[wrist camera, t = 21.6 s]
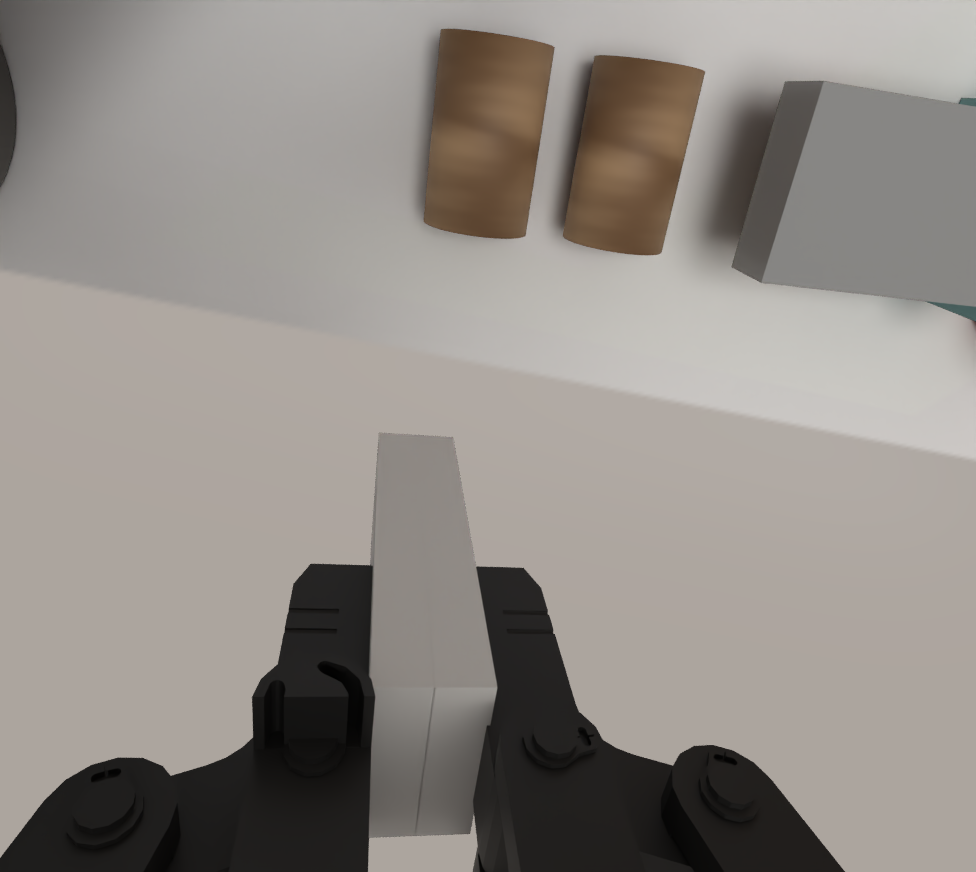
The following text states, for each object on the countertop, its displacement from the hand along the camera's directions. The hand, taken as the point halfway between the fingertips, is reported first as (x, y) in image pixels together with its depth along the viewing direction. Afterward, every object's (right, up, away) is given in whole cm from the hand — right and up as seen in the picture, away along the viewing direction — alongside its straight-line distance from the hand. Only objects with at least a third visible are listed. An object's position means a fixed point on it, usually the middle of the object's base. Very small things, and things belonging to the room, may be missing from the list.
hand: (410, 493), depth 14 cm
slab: (+20, +12, +18) cm, 30 cm away
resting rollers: (+5, +16, +20) cm, 26 cm away
